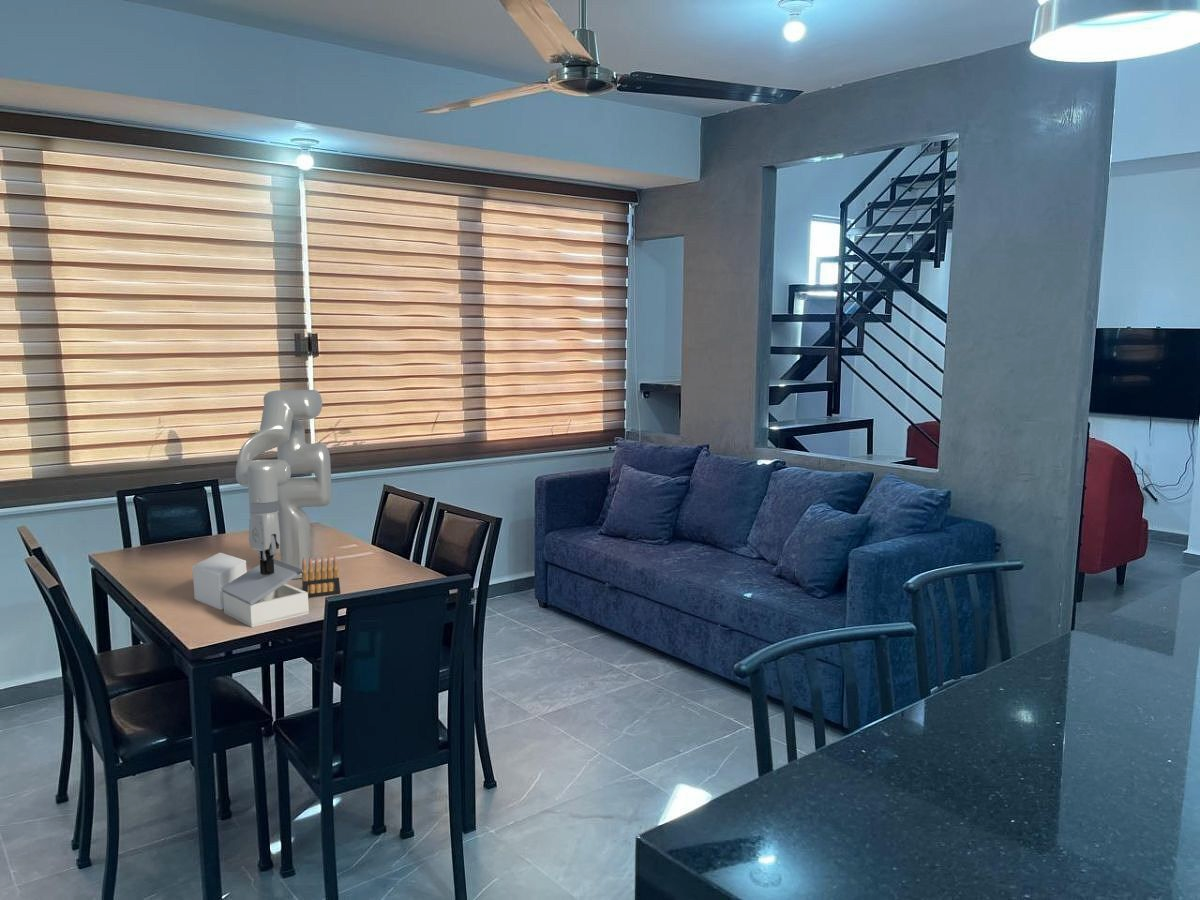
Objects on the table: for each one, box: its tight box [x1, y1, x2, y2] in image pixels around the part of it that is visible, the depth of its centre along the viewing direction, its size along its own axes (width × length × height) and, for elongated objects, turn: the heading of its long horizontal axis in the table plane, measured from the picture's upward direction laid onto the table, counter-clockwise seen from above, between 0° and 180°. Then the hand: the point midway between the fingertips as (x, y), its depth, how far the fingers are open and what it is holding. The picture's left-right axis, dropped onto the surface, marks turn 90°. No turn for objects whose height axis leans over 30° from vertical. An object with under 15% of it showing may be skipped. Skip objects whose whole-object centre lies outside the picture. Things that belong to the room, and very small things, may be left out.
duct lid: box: [221, 557, 303, 605], centre depth 238 cm, size 19×16×1 cm
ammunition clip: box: [301, 554, 341, 599], centre depth 256 cm, size 11×2×12 cm, turn 114°
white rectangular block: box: [192, 552, 248, 611], centre depth 256 cm, size 14×29×10 cm, turn 23°
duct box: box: [223, 583, 310, 628], centre depth 240 cm, size 18×17×6 cm
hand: (267, 573), depth 238 cm, fingers closed
